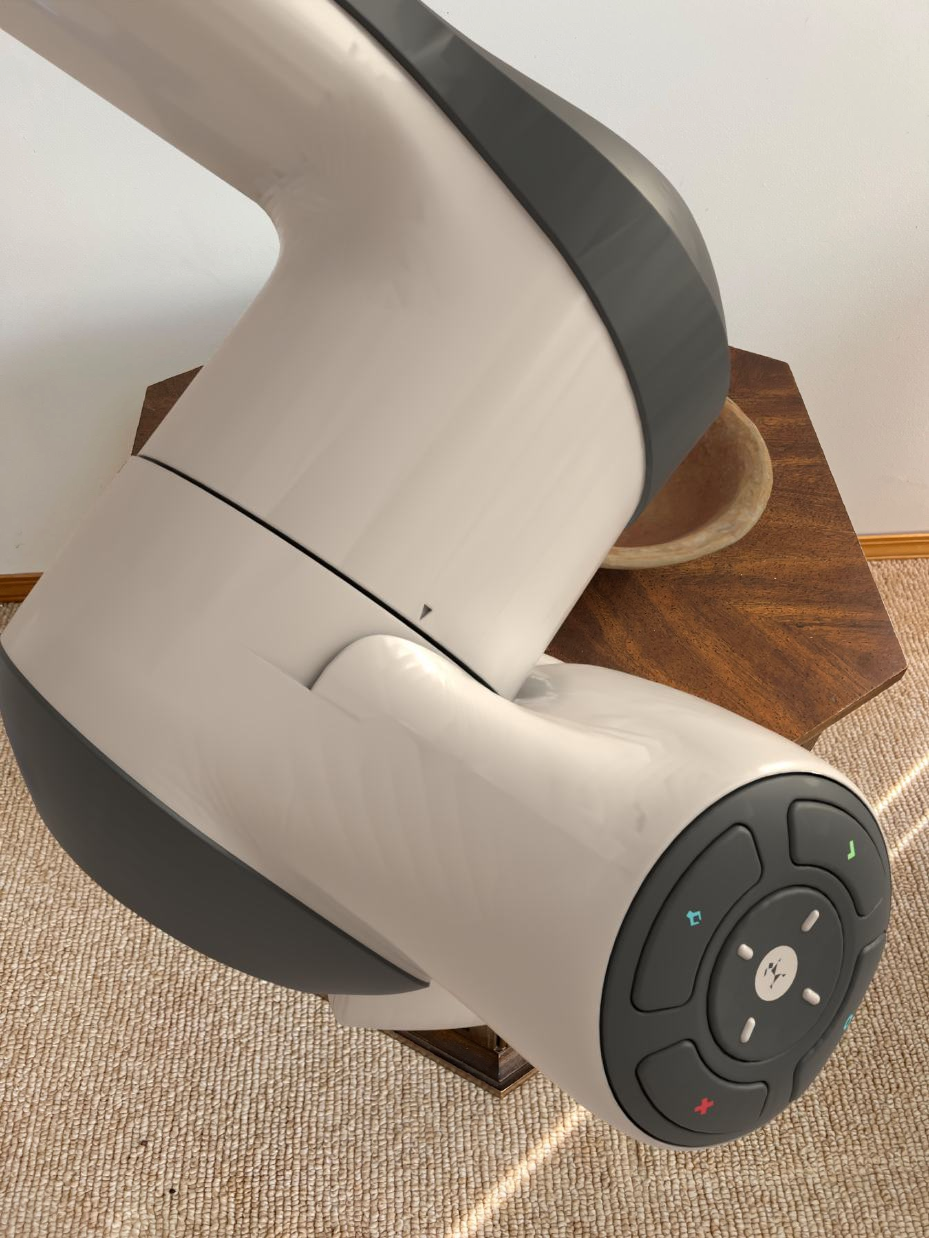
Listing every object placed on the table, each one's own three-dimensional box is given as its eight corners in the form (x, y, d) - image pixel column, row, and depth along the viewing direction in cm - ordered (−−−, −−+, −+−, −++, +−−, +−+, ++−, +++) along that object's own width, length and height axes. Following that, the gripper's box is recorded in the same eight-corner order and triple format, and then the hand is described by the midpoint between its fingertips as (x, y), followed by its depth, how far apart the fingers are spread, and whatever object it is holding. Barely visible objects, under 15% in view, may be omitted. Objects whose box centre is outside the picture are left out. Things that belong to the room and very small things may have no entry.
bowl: (803, 595, 70) (836, 523, 63) (493, 665, 66) (494, 596, 60) (682, 391, 83) (698, 314, 77) (419, 440, 80) (414, 364, 73)
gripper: (415, 438, 30) (326, 473, 43) (328, 1075, 30) (266, 917, 43) (592, 473, 32) (456, 496, 45) (509, 1066, 32) (398, 919, 45)
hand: (362, 706), depth 44 cm, fingers open, 8 cm apart
